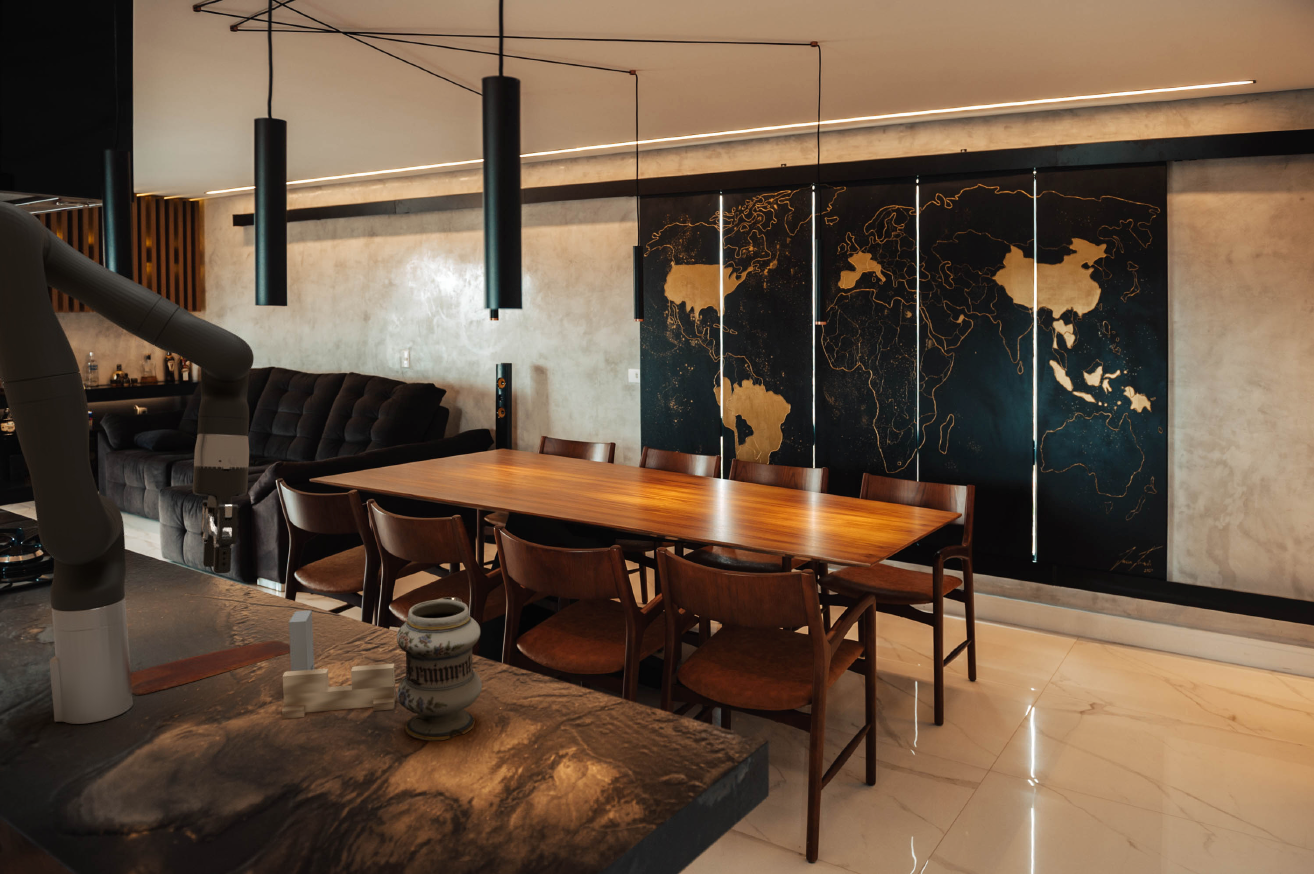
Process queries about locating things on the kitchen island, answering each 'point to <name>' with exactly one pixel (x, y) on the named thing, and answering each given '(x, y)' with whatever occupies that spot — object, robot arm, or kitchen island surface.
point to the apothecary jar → (439, 669)
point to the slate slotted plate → (301, 641)
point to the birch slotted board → (338, 690)
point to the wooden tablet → (203, 666)
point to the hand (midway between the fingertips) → (216, 569)
